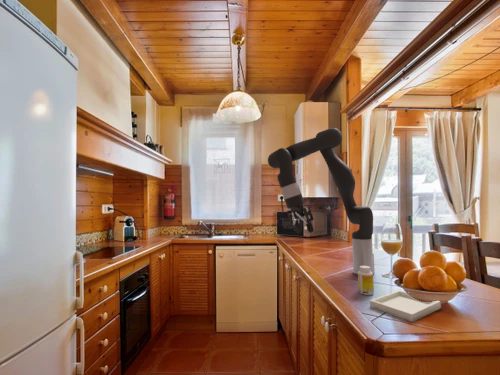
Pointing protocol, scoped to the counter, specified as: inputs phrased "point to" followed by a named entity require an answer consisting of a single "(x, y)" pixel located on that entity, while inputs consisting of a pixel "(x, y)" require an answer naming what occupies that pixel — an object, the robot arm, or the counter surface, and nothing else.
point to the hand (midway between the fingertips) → (305, 232)
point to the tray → (404, 305)
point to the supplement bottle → (365, 281)
